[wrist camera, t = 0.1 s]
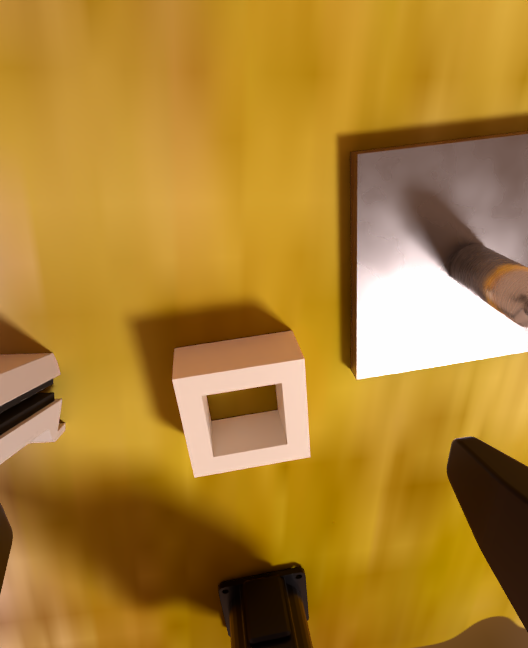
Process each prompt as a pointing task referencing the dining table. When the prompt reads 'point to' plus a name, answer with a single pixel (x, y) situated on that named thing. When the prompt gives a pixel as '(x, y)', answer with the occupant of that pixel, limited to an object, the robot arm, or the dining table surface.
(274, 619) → the robot arm
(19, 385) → the napkin holder
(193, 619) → the dining table surface
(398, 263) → the grey base with post
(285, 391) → the collar
